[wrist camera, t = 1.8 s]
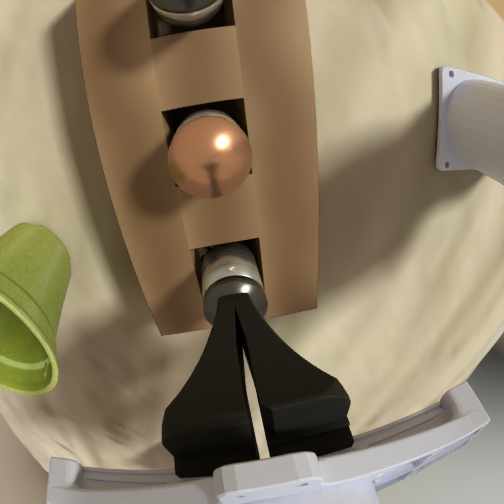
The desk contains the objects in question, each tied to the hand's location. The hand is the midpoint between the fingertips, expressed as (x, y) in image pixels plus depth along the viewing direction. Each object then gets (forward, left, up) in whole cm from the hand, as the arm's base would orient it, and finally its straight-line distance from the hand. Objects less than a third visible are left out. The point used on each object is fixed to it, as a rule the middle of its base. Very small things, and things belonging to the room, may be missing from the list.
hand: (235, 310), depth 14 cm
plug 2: (0, 0, -4) cm, 4 cm away
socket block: (0, -7, -7) cm, 10 cm away
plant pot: (+14, -1, -7) cm, 16 cm away
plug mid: (0, -7, -4) cm, 8 cm away
